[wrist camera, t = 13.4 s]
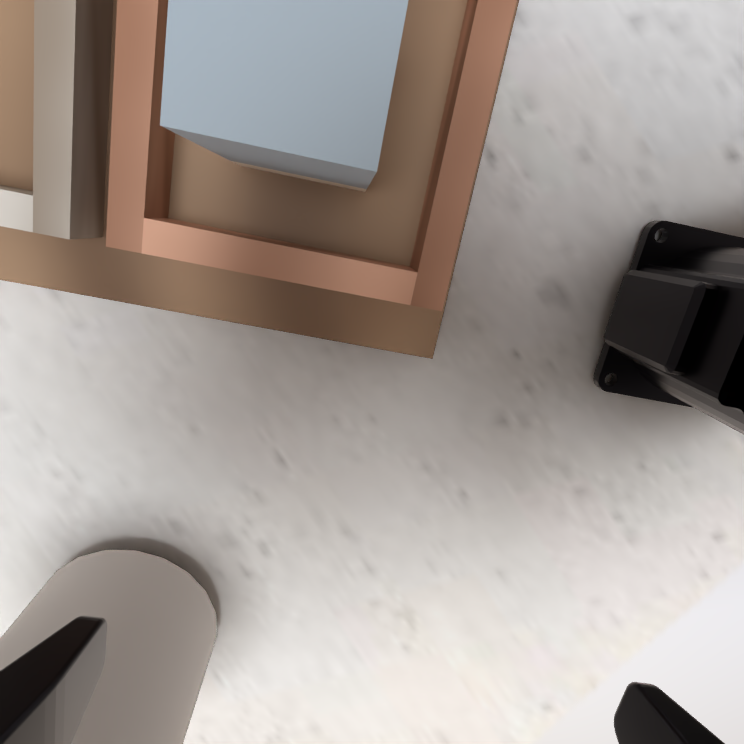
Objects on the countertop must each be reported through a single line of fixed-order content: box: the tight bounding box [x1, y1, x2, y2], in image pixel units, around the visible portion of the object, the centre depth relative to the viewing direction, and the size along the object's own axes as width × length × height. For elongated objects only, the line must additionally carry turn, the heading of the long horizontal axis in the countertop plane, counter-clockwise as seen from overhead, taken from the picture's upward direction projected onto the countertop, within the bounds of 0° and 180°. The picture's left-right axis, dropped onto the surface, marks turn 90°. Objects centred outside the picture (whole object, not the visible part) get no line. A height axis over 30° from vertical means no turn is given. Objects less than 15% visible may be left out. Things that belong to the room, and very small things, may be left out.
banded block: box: [160, 0, 408, 192], centre depth 12 cm, size 4×4×7 cm
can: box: [0, 550, 217, 744], centre depth 16 cm, size 8×8×12 cm
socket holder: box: [0, 0, 519, 359], centre depth 15 cm, size 22×14×4 cm, turn 79°
